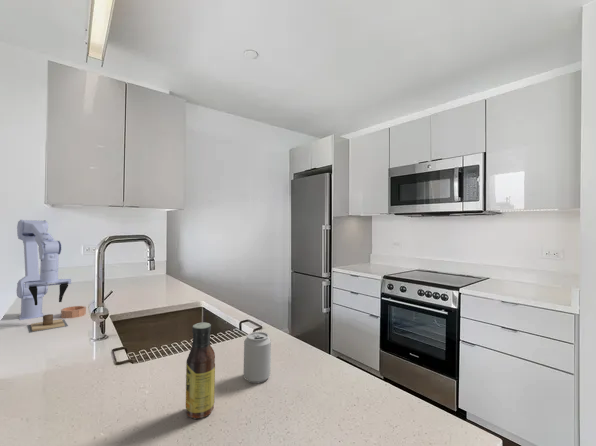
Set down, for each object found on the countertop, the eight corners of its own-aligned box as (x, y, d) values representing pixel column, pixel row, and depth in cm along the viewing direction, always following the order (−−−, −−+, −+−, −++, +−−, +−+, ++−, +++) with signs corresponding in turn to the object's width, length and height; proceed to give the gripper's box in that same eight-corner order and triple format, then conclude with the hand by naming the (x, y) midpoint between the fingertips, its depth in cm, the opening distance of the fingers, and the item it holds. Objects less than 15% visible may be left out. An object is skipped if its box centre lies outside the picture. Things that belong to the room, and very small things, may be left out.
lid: (30, 325, 123) (31, 315, 123) (61, 320, 130) (61, 310, 130) (32, 331, 116) (32, 320, 116) (64, 326, 123) (65, 315, 123)
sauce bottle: (189, 404, 71) (191, 319, 71) (216, 403, 71) (218, 319, 72) (181, 422, 64) (183, 329, 64) (210, 421, 65) (213, 328, 65)
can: (248, 387, 79) (249, 341, 79) (240, 374, 85) (240, 332, 86) (274, 380, 82) (275, 337, 82) (264, 369, 89) (265, 328, 89)
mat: (27, 326, 123) (27, 325, 123) (64, 320, 131) (64, 319, 131) (28, 333, 114) (29, 332, 114) (68, 327, 123) (68, 326, 123)
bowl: (59, 315, 138) (60, 308, 138) (83, 312, 144) (83, 304, 144) (62, 320, 131) (62, 312, 131) (87, 316, 137) (87, 308, 138)
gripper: (26, 272, 115) (25, 308, 115) (72, 269, 126) (71, 302, 125) (25, 271, 120) (24, 304, 120) (70, 268, 131) (69, 299, 130)
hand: (48, 303), depth 123 cm, fingers open, 7 cm apart
